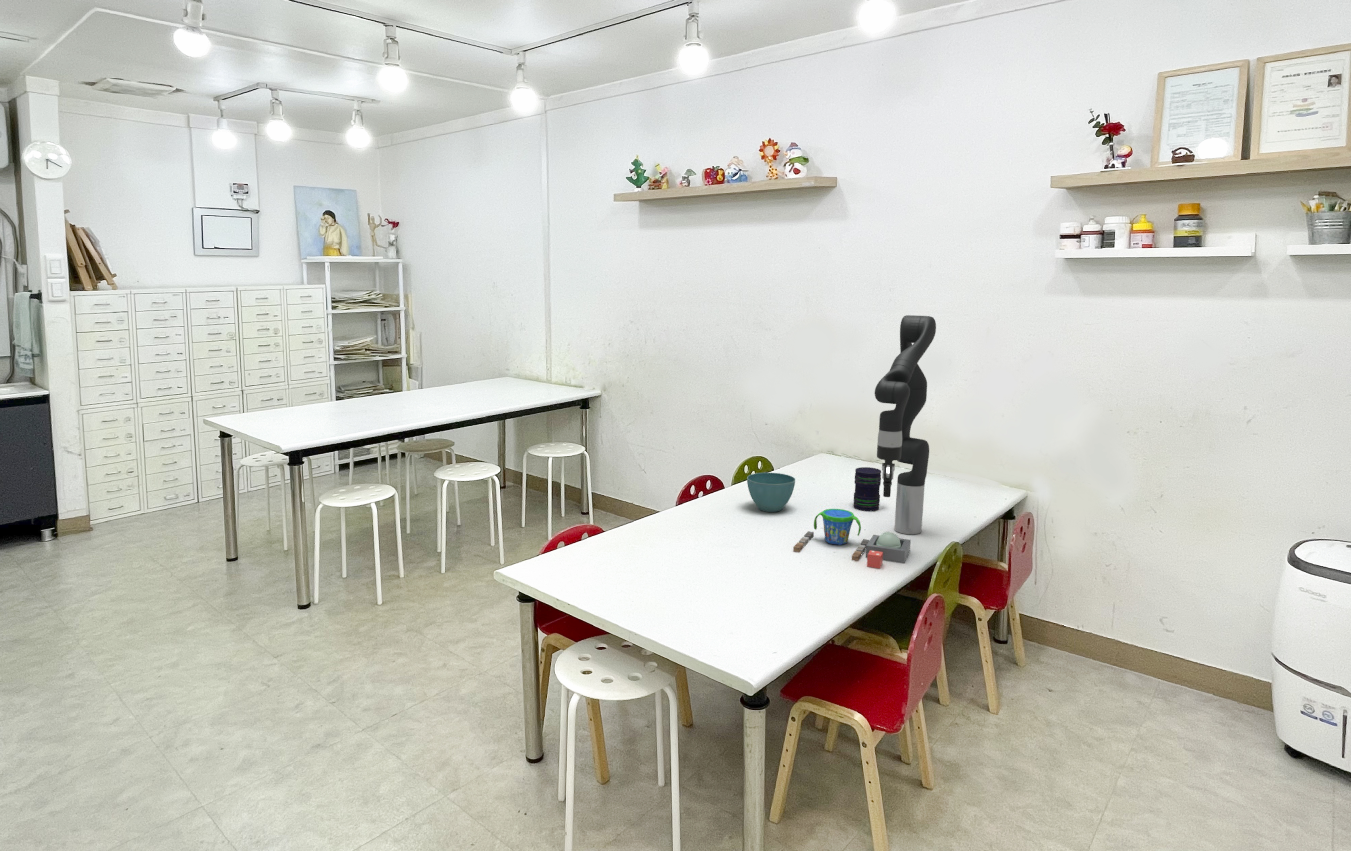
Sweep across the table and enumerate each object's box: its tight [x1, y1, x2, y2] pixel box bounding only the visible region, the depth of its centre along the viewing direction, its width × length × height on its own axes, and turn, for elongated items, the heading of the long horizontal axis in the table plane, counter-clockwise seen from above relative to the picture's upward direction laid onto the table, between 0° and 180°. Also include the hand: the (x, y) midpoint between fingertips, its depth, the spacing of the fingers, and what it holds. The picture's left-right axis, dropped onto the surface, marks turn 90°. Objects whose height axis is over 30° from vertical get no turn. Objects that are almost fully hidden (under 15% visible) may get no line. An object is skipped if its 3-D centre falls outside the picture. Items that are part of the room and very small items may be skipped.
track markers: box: [792, 530, 870, 562], centre depth 268 cm, size 18×21×2 cm
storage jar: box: [853, 466, 882, 512], centre depth 313 cm, size 10×10×15 cm
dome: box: [876, 531, 901, 549], centre depth 262 cm, size 8×8×7 cm
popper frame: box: [865, 534, 912, 564], centre depth 262 cm, size 12×12×4 cm
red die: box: [866, 550, 884, 569], centre depth 252 cm, size 4×4×4 cm
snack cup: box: [813, 508, 862, 546], centre depth 273 cm, size 16×10×10 cm
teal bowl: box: [746, 472, 796, 513], centre depth 310 cm, size 18×18×12 cm
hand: (886, 496), depth 261 cm, fingers closed
